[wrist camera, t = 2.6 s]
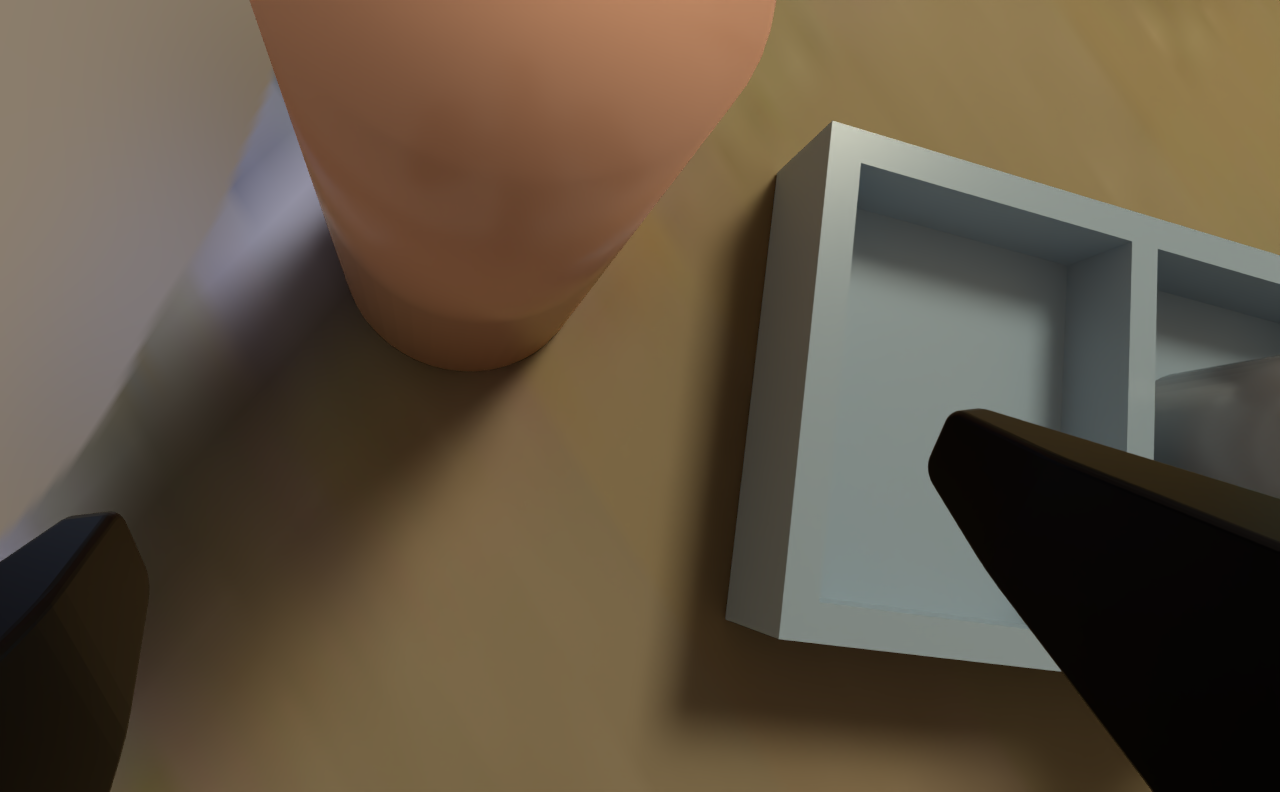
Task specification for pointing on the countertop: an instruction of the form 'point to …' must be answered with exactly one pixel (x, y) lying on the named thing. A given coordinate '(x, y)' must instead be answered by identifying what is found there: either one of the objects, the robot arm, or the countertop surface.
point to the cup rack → (948, 376)
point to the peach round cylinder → (497, 147)
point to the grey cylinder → (1222, 423)
